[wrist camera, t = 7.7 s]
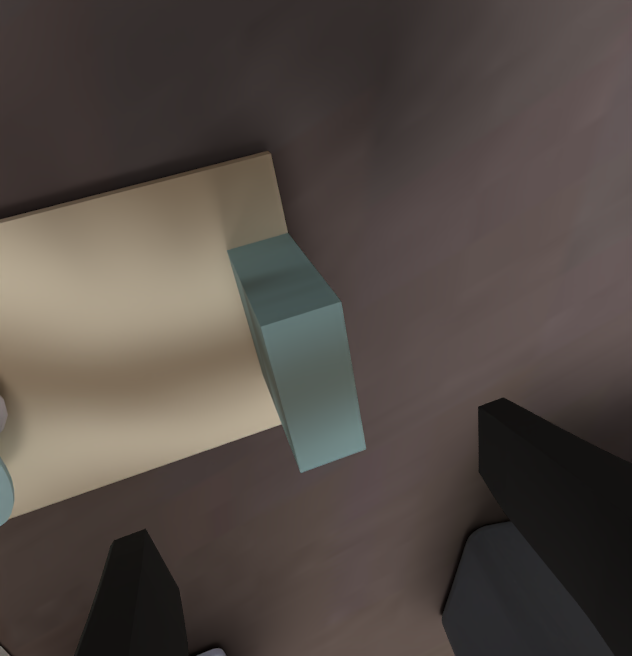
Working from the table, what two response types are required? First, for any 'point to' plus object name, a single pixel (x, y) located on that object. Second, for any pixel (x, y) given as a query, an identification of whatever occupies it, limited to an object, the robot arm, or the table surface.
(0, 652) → the broken strip
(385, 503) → the table surface
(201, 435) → the wooden board
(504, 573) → the storage bin
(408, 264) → the table surface
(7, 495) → the pacifier
